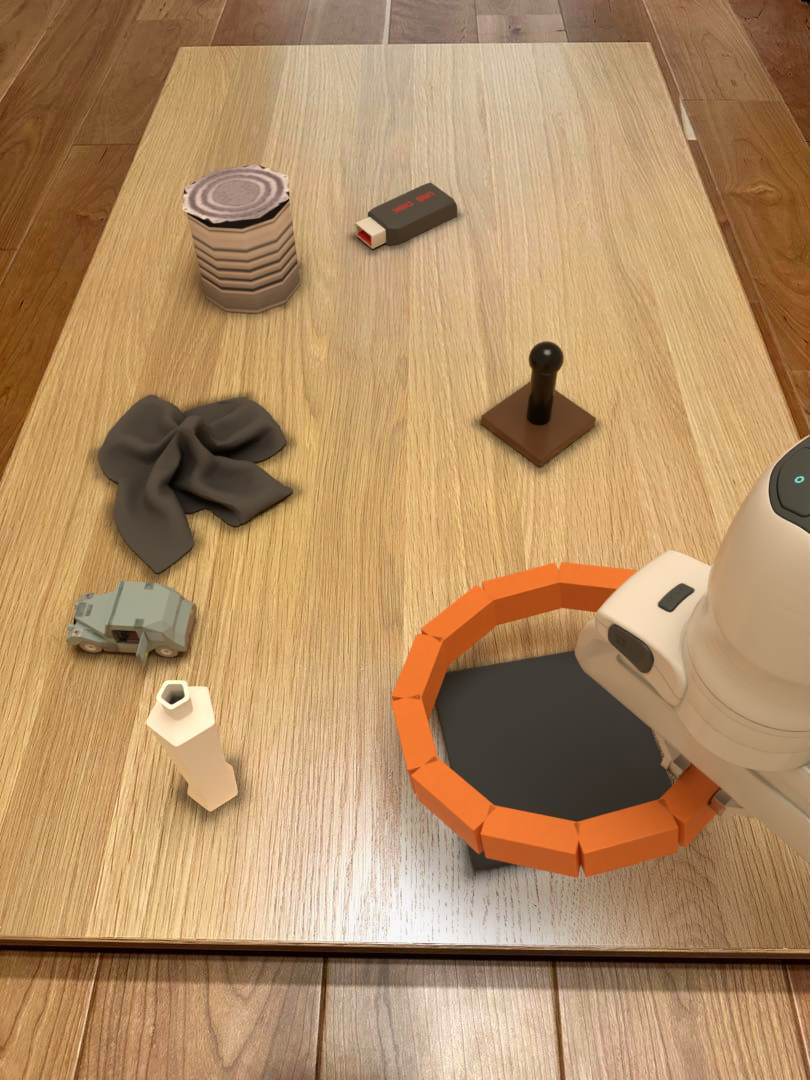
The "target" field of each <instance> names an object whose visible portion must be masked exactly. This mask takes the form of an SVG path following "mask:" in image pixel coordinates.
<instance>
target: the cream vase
mask: <svg viewBox="0 0 810 1080" xmlns="http://www.w3.org/2000/svg"><path fill="white" fill-rule="evenodd" d="M155 700H156V702H155V704H154V706H153V708H151V711H150V713H149V715H148V717H147V718H146V721H145V725H146V726H147V727H148V729H149V731H151V733H152V734H153V736H154V737H155V739H156V740H157V742H158V744H160V746H161V747H162V748H163V750H164V751H165V753H166V755H167V756H168V757H169V759H170V760H171V762H172V763H173V764H174V766H175V767H176V769H177V770H178V772H179V773H180V774H181V776H182V777H183V779H184V780H185V781H186V783H187V784H188V786H187V792H186V793H187V796H189V797H190V798H191V799H192V800H194V801H195V802H197V804H199V805H200V806H201V807H202V808H204V809H205V810H206V811H208V812H213V811H215V810H217V809H218V808H220V807H221V806H223V805H224V804H226V803H227V802H229V801H230V800H231V799H233V798H235V797H236V796H238V795H239V789H238V785H237V781H236V776H235V771H234V767H233V766H232V765H231V764H230V763H228V762H227V761H226V757H225V753H224V749H223V744H222V740H221V737H220V733H219V728H218V724H217V720H216V715H215V711H214V707H213V703H212V699H211V695H210V691H209V688H208V687H207V686H203V685H202V686H199V685H198V686H197V685H196V686H195V685H194V686H189V685H188V682H187V681H186V680H182V679H181V680H180V679H178V680H175V679H174V680H173V679H172V680H171V679H168V680H165V681H164V682H163V683H162V685H161V686H160V688H159V690H158V692H157V694H156V696H155Z"/></svg>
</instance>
